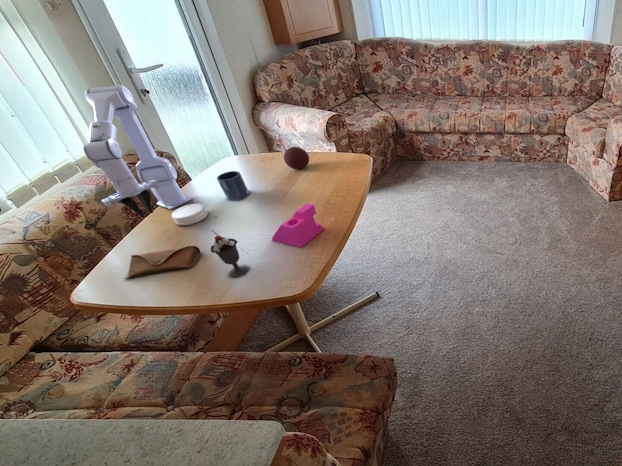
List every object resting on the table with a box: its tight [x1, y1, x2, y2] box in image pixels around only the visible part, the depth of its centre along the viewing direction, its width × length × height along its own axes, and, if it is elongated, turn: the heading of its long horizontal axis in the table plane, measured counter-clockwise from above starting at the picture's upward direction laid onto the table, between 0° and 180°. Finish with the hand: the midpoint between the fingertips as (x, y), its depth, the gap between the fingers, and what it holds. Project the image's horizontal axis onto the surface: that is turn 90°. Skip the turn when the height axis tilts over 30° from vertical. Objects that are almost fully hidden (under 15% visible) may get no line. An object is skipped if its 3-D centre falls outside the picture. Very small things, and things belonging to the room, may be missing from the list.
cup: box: [216, 170, 250, 202], centre depth 150 cm, size 8×8×9 cm
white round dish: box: [171, 203, 209, 226], centre depth 138 cm, size 10×10×4 cm
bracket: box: [271, 203, 324, 248], centre depth 126 cm, size 12×10×10 cm
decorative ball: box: [283, 146, 310, 170], centre depth 168 cm, size 10×10×10 cm
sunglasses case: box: [125, 245, 201, 280], centre depth 117 cm, size 18×7×7 cm, turn 107°
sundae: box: [210, 229, 249, 278], centre depth 110 cm, size 7×7×15 cm
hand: (146, 214), depth 126 cm, fingers closed
